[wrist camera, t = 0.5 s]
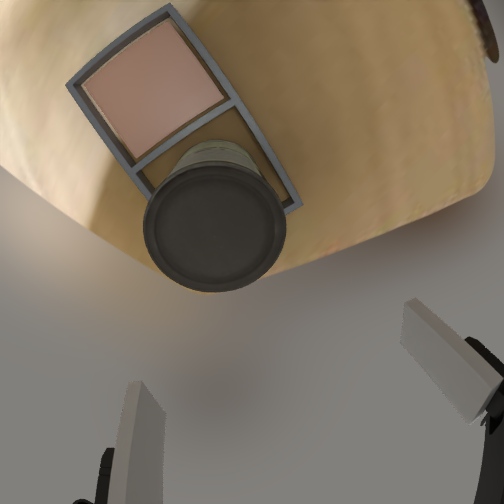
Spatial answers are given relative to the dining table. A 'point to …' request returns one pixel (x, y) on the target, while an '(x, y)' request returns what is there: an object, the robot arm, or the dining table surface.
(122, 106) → the organiser
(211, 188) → the coffee can
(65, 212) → the dining table surface
